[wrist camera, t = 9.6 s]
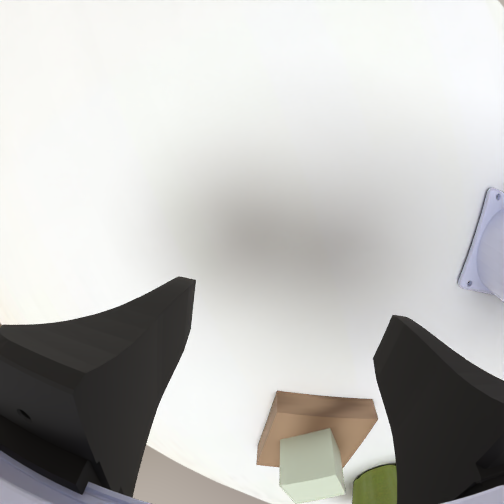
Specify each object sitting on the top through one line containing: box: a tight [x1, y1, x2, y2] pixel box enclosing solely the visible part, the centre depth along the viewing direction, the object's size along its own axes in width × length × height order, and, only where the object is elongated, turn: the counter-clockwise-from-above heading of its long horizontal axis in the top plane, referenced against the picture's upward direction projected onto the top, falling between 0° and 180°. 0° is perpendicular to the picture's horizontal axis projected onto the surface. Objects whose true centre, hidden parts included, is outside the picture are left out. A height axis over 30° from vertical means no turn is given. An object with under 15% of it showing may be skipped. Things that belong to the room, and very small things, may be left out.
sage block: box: [279, 428, 346, 504], centre depth 22 cm, size 4×4×5 cm
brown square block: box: [257, 391, 378, 469], centre depth 26 cm, size 9×9×3 cm
